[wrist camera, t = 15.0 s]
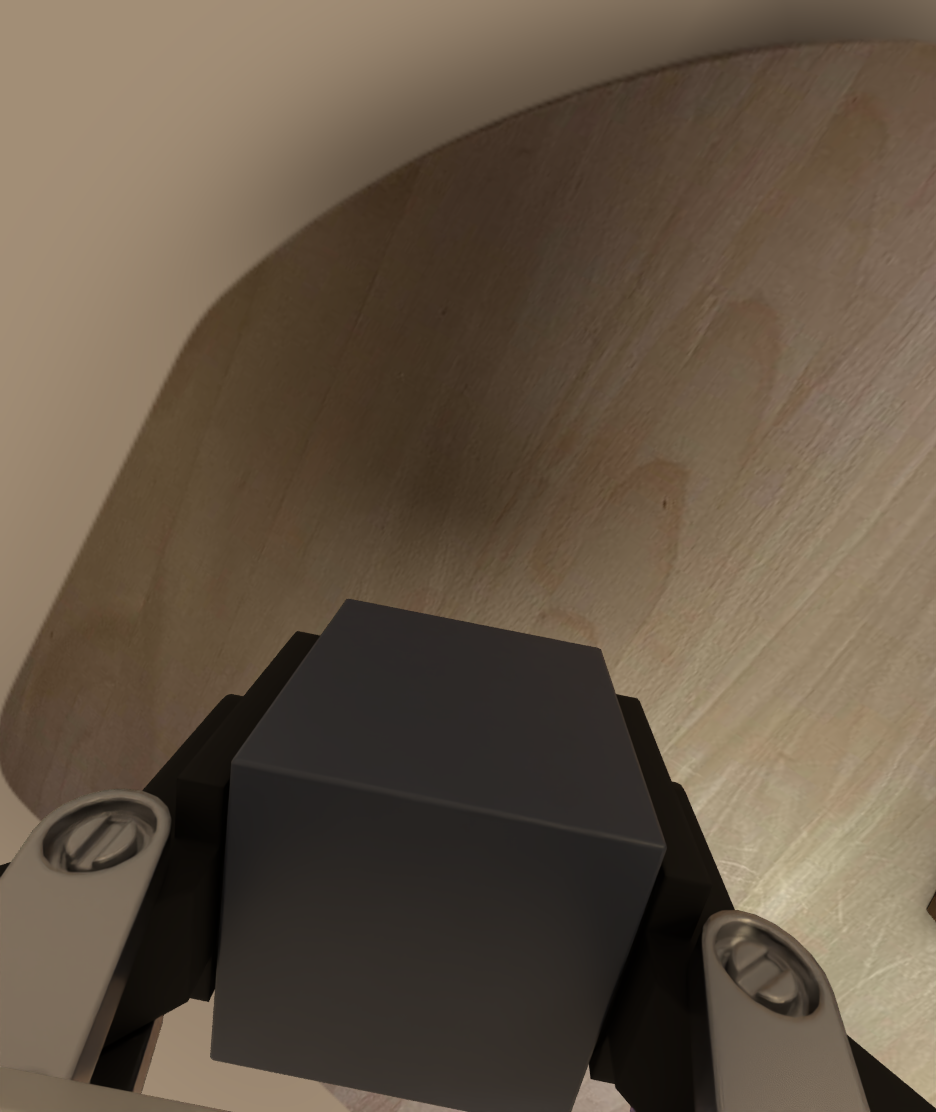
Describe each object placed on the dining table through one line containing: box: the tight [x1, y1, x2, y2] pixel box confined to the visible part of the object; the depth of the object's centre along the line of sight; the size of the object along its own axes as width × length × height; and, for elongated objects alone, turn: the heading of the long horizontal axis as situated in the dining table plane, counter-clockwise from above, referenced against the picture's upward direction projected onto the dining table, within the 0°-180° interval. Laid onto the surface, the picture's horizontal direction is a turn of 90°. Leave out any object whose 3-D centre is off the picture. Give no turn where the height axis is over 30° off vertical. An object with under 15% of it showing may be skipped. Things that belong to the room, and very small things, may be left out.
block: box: [210, 599, 667, 1112], centre depth 9 cm, size 4×4×4 cm
